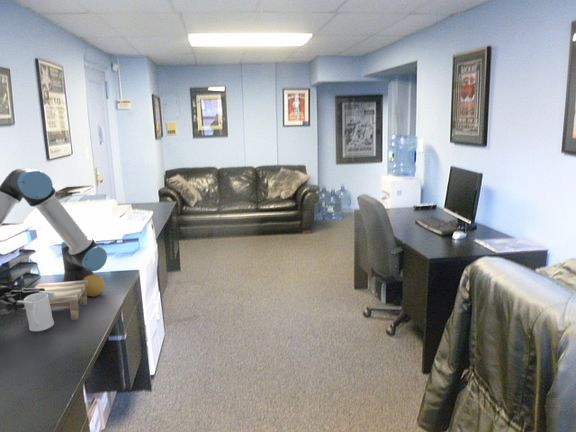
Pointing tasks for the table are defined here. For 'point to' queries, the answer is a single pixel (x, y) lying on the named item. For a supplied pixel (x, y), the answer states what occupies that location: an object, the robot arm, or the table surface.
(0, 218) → the robot arm
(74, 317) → the footstool
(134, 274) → the table surface
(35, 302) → the mug
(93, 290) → the stress ball
